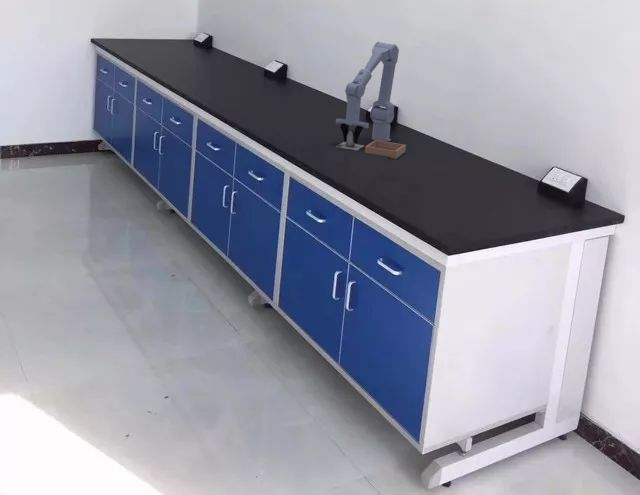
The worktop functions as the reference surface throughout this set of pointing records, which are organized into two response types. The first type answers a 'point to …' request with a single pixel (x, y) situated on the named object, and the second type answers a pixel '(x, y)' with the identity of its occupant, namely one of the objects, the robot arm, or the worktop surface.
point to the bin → (385, 152)
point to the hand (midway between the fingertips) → (350, 142)
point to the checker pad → (357, 147)
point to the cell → (350, 138)
